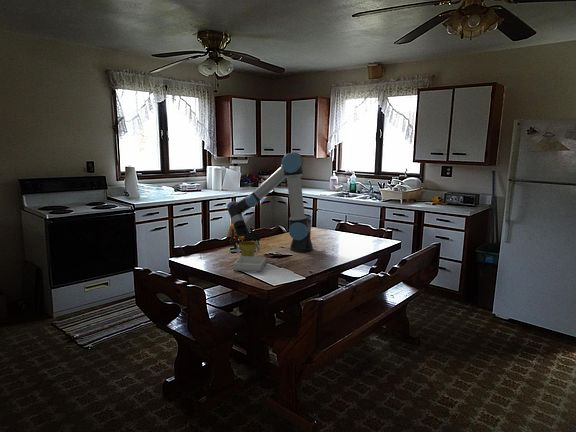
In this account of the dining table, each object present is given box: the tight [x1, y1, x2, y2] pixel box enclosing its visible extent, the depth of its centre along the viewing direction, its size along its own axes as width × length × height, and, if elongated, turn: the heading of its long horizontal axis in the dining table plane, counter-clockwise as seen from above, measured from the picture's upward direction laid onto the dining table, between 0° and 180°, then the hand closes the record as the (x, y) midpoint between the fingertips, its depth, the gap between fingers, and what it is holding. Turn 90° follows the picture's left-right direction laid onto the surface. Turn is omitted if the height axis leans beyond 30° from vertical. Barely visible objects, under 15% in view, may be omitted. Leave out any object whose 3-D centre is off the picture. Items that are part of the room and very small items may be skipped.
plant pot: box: [238, 240, 257, 257], centre depth 247 cm, size 10×10×10 cm
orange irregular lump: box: [226, 223, 245, 242], centre depth 292 cm, size 11×7×12 cm, turn 130°
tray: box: [232, 255, 267, 273], centre depth 230 cm, size 16×16×4 cm
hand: (249, 251), depth 245 cm, fingers open, 13 cm apart
